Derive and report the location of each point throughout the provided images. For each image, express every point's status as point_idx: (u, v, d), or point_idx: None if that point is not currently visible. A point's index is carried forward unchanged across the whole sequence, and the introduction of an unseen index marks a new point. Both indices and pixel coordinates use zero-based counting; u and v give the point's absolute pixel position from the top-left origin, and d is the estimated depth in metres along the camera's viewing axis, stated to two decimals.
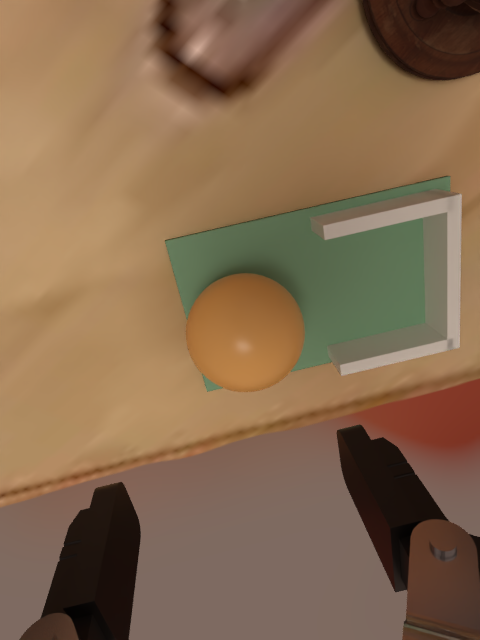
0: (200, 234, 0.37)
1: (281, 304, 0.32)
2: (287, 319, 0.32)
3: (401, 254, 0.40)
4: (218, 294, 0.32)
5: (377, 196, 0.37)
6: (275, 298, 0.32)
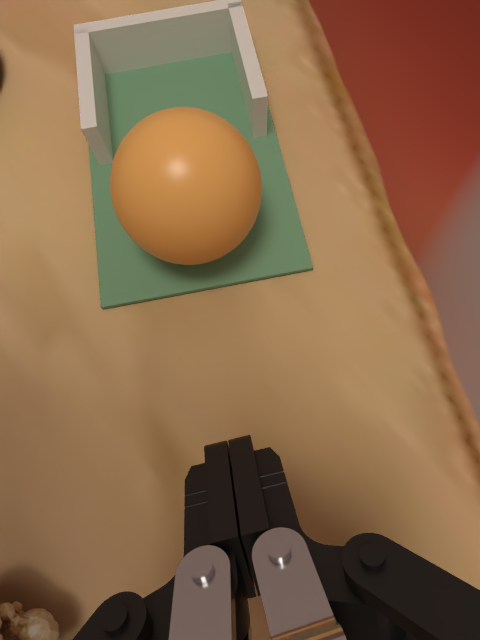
0: (99, 269, 0.32)
1: None
2: (142, 119, 0.26)
3: (151, 83, 0.38)
4: (115, 204, 0.26)
5: None
6: None
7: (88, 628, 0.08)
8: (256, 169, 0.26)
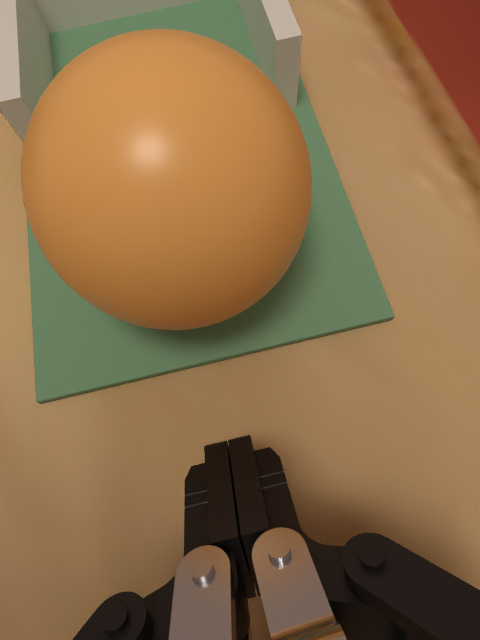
0: (35, 334, 0.19)
1: None
2: None
3: None
4: (32, 228, 0.13)
5: None
6: None
7: (88, 628, 0.08)
8: (304, 147, 0.14)
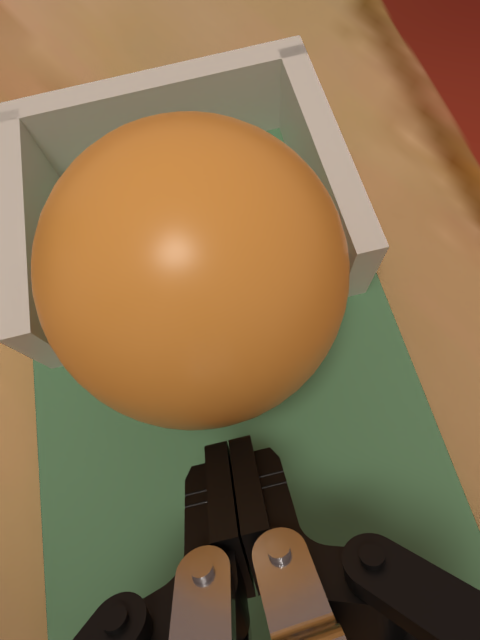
0: (50, 633, 0.15)
1: None
2: None
3: None
4: None
5: None
6: None
7: (88, 628, 0.08)
8: None
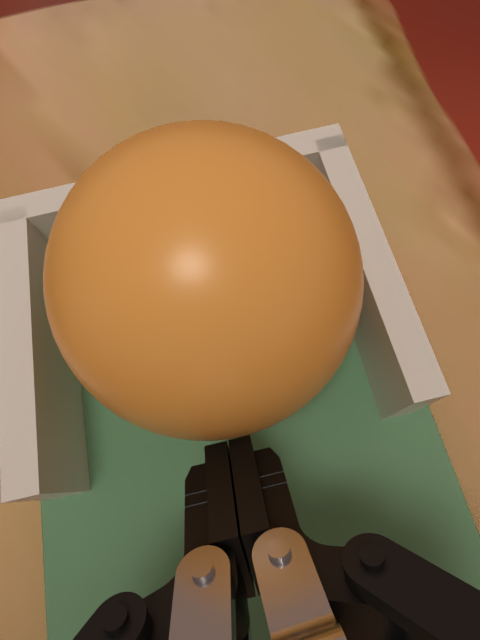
0: None
1: None
2: None
3: None
4: None
5: None
6: None
7: (88, 628, 0.08)
8: None
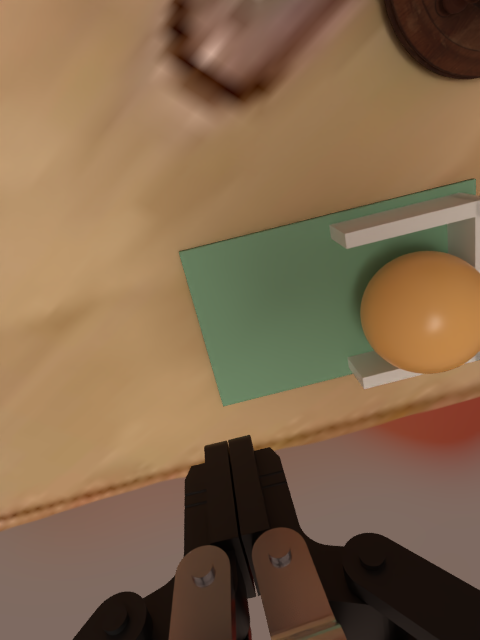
0: (215, 244, 0.36)
1: None
2: None
3: None
4: None
5: (399, 201, 0.36)
6: None
7: (88, 628, 0.08)
8: None
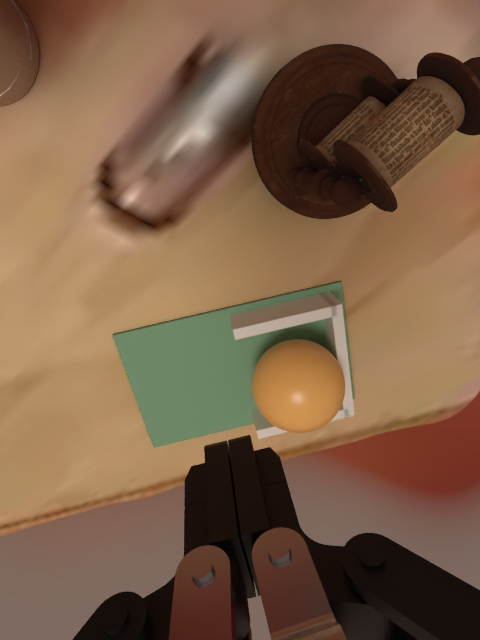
0: (140, 329, 0.46)
1: None
2: None
3: None
4: (311, 342, 0.44)
5: (283, 298, 0.47)
6: None
7: (88, 628, 0.08)
8: None
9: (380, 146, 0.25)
